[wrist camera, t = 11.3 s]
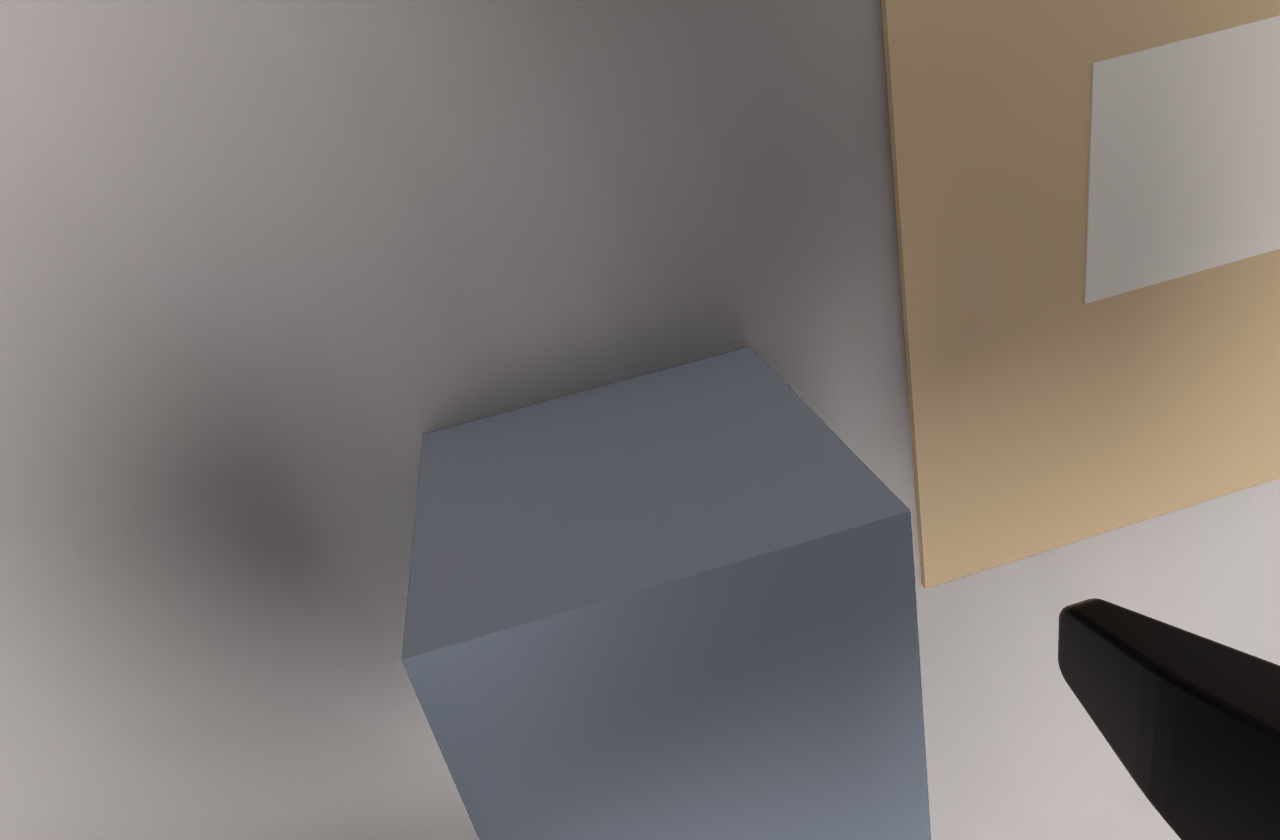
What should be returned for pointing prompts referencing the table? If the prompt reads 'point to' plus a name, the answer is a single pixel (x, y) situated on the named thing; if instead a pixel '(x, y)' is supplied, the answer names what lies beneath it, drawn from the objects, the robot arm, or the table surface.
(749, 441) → the slate-blue cube
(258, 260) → the table surface
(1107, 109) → the kraft envelope
